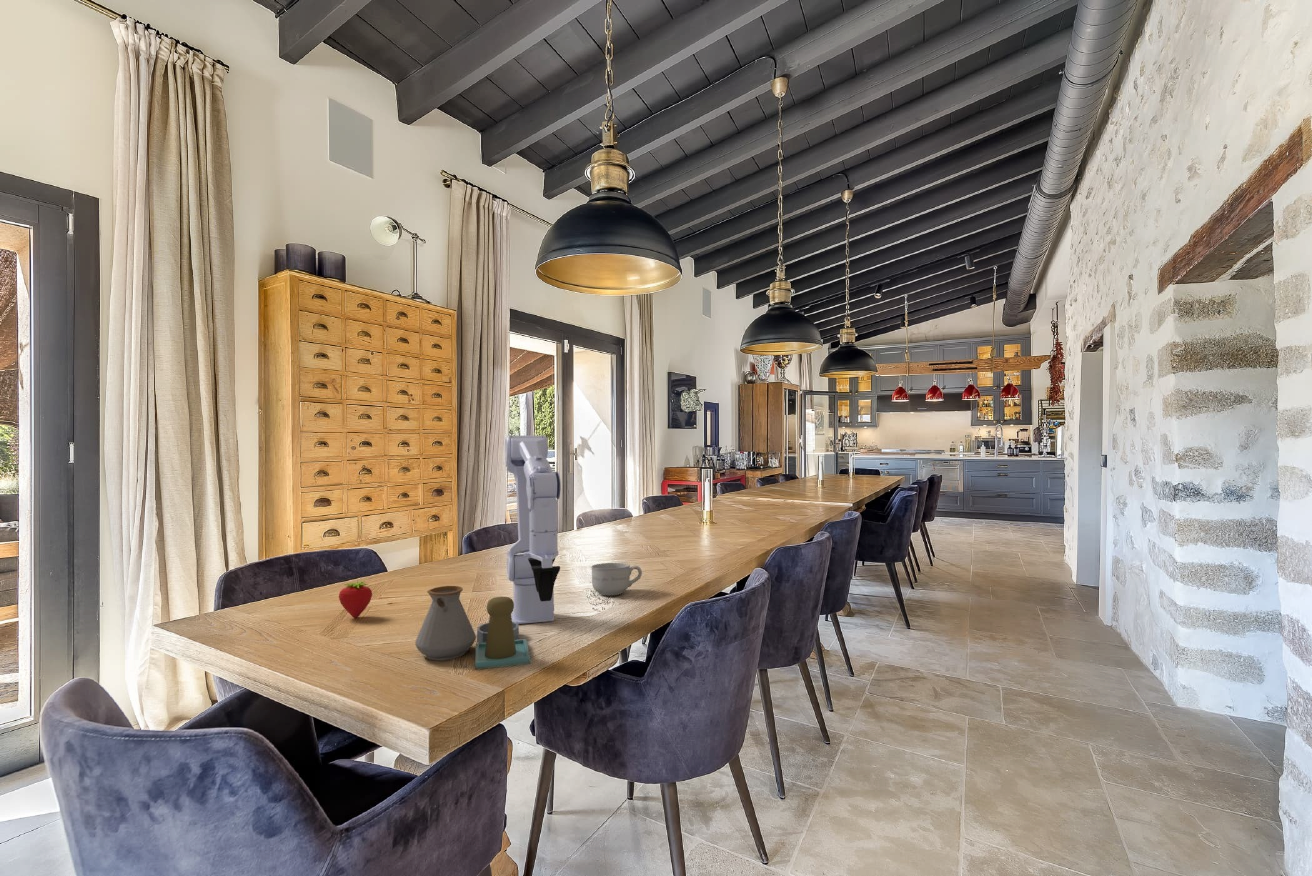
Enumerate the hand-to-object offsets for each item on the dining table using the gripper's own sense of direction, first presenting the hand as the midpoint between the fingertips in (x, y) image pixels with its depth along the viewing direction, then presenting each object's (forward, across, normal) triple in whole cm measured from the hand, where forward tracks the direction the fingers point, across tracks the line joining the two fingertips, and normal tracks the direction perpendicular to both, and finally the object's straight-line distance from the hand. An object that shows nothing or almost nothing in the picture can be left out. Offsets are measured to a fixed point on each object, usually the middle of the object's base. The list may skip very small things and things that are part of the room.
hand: (543, 595), depth 125 cm
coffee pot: (+11, +4, -19) cm, 22 cm away
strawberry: (+11, -33, -42) cm, 54 cm away
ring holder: (+10, -8, -9) cm, 16 cm away
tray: (+10, +4, -8) cm, 14 cm away
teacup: (+11, -37, +24) cm, 45 cm away
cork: (+10, +4, -9) cm, 14 cm away
